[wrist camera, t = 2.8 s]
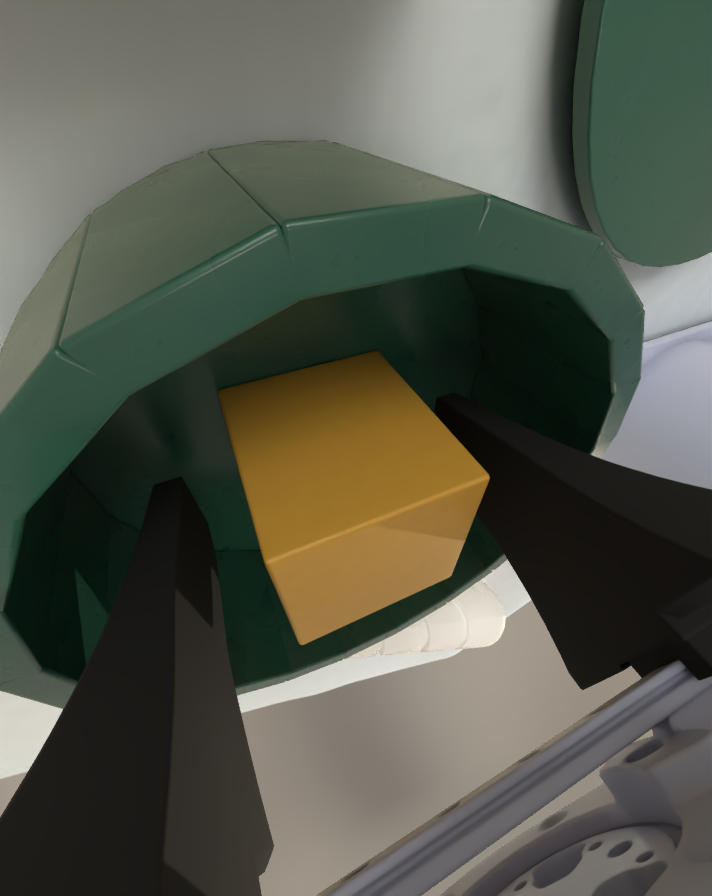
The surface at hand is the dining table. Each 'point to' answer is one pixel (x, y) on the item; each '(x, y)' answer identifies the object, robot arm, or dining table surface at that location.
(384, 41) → the dining table surface
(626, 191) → the tin lid
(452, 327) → the tin
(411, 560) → the block
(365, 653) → the unicorn horn
